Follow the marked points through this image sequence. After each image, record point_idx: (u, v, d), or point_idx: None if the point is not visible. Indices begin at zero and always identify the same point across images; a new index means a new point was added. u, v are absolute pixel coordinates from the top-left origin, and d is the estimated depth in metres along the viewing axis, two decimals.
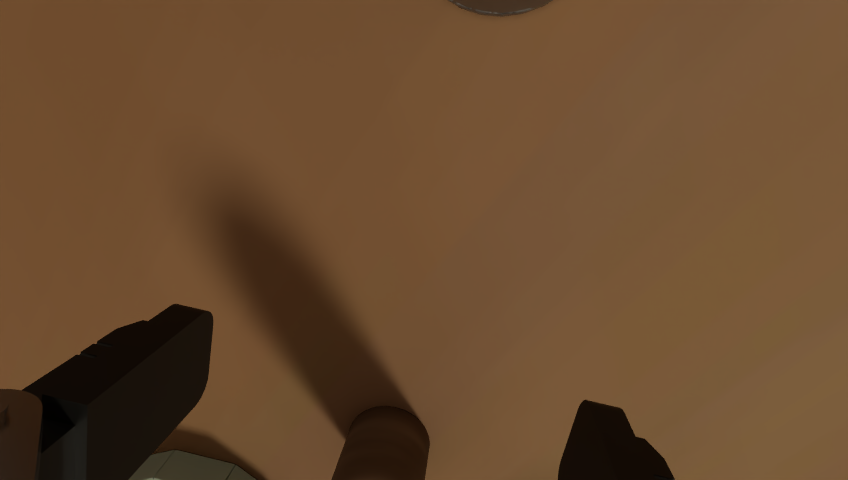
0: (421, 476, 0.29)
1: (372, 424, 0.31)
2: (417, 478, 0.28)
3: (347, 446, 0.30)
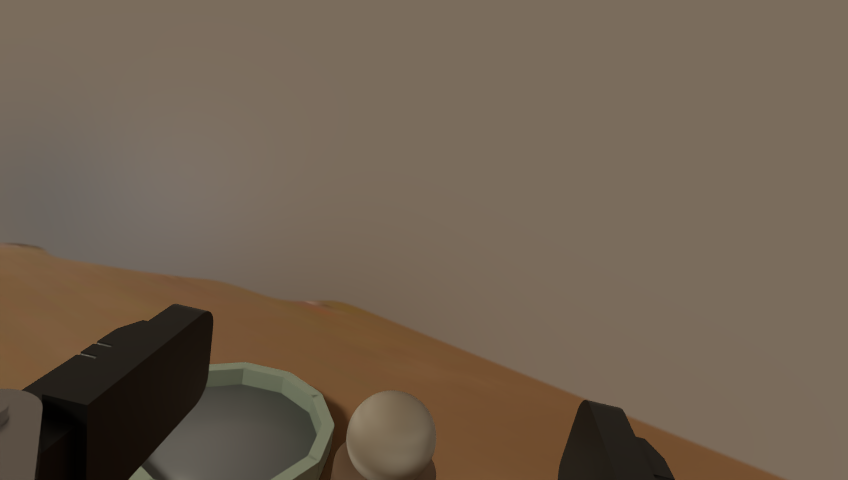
0: None
1: None
2: None
3: None
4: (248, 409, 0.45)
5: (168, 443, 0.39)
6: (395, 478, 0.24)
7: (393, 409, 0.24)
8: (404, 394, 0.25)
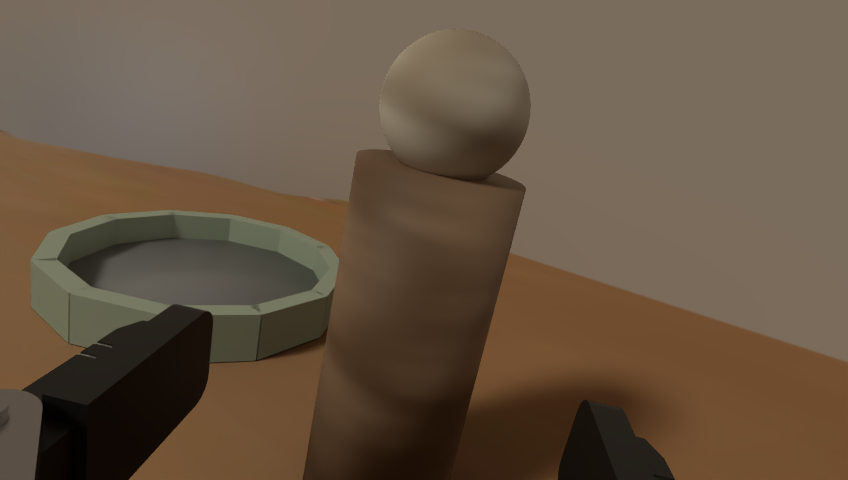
0: (416, 458, 0.16)
1: None
2: (432, 441, 0.16)
3: None
4: (234, 260, 0.34)
5: (124, 275, 0.29)
6: (468, 136, 0.13)
7: (463, 31, 0.14)
8: None
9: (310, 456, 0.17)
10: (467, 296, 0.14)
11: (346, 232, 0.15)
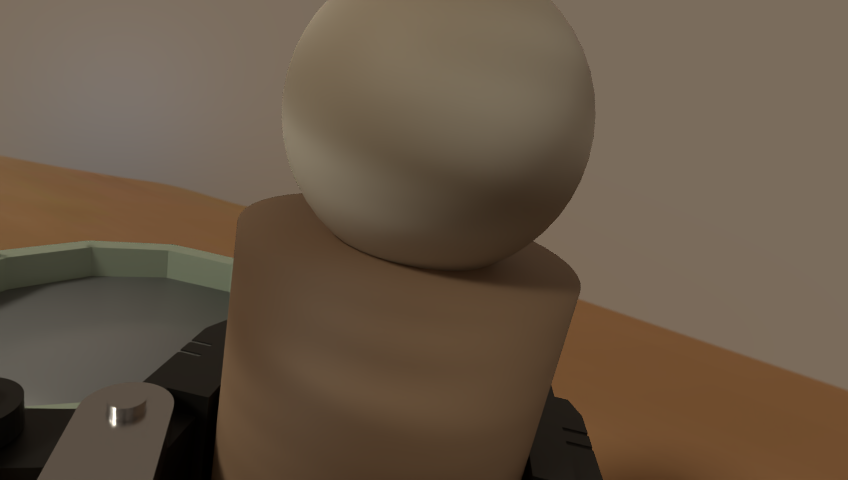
0: None
1: None
2: None
3: None
4: (167, 306, 0.27)
5: (1, 340, 0.21)
6: (465, 192, 0.06)
7: None
8: None
9: None
10: None
11: (222, 369, 0.08)
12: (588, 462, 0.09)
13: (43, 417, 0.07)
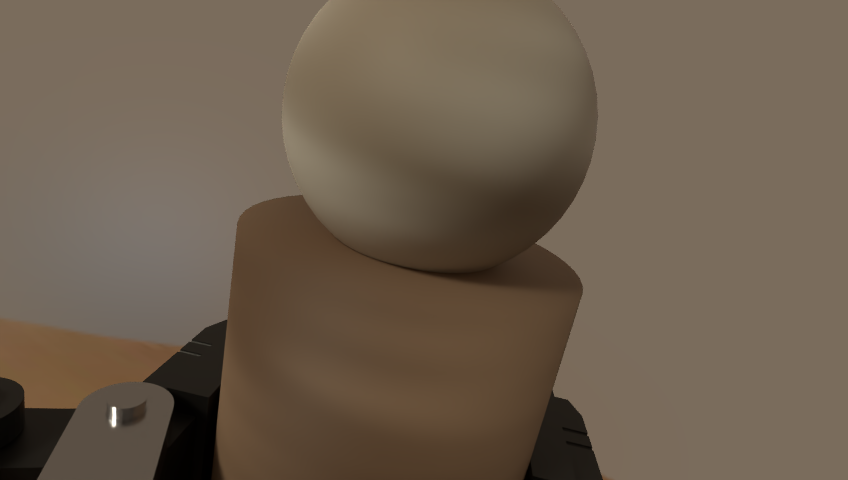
0: None
1: None
2: None
3: None
4: None
5: None
6: (468, 195, 0.06)
7: None
8: None
9: None
10: None
11: (222, 372, 0.08)
12: (588, 462, 0.09)
13: (43, 417, 0.07)
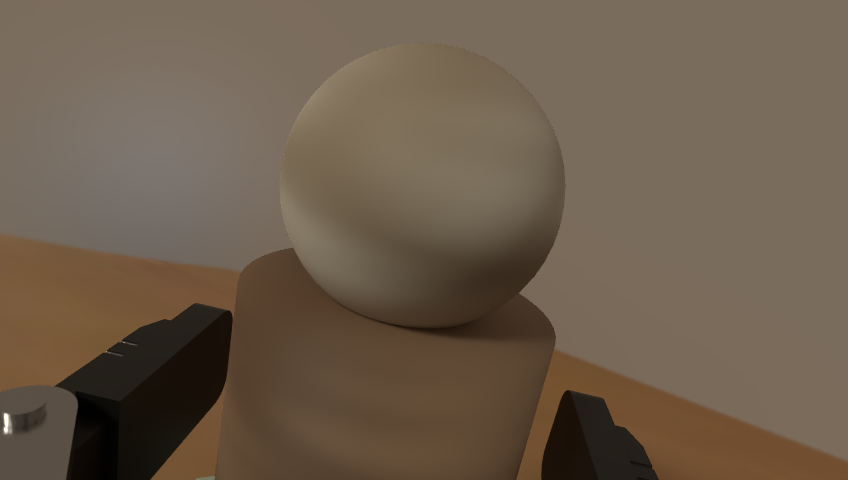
0: None
1: None
2: None
3: None
4: None
5: None
6: (445, 265, 0.06)
7: (436, 48, 0.07)
8: None
9: None
10: None
11: (222, 419, 0.08)
12: None
13: None
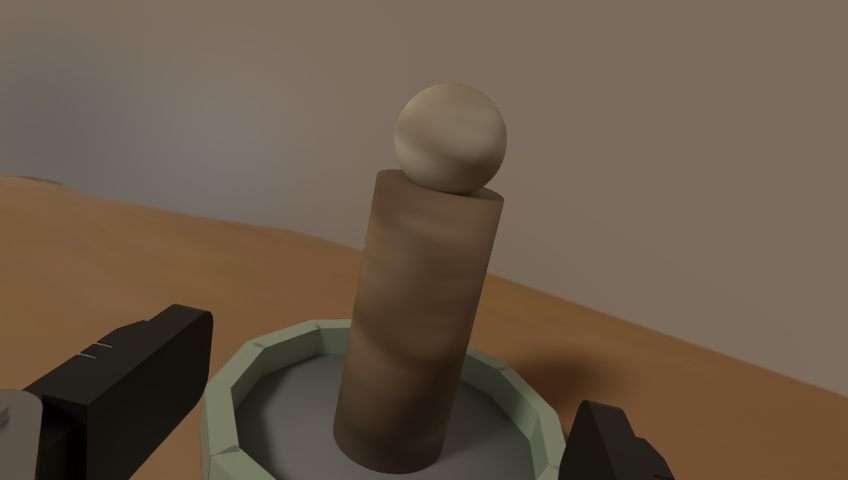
0: (423, 404, 0.21)
1: None
2: (435, 390, 0.21)
3: None
4: None
5: (298, 439, 0.23)
6: (460, 164, 0.18)
7: (456, 86, 0.19)
8: None
9: (340, 406, 0.23)
10: (460, 280, 0.20)
11: (369, 233, 0.20)
12: None
13: None
